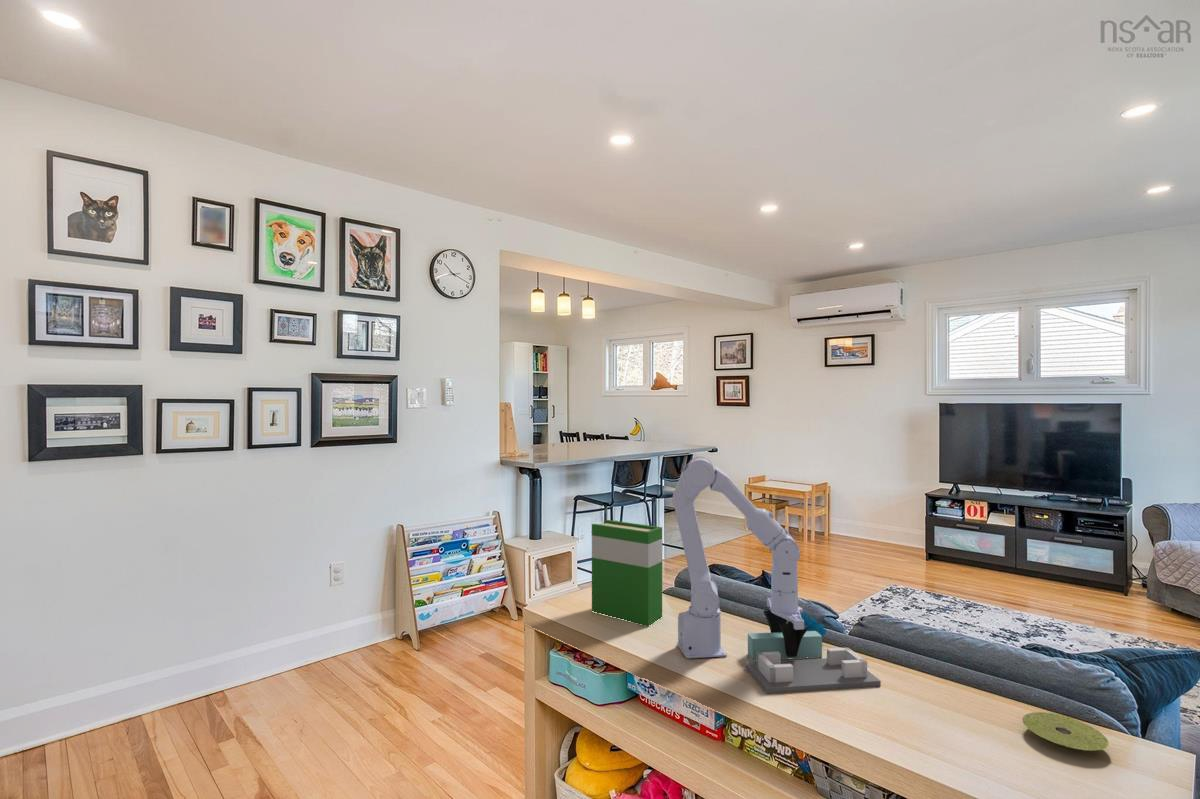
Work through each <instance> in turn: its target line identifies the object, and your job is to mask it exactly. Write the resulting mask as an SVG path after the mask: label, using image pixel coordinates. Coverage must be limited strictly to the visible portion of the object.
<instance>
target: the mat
mask: <svg viewBox="0 0 1200 799" xmlns="http://www.w3.org/2000/svg"><path fill="white" fill-rule="evenodd" d="M1021 721H1022V723H1023V724H1024V726H1025V727H1026V728H1027V729H1028V730H1030V731H1031V733H1034V734H1036V735H1037V736H1039V737H1040V738H1043V739H1046V740H1047V741H1049V742H1052V743H1054V744H1057V745H1060V746H1064V747H1066V748H1071V749H1075V750H1082V751H1101V750H1104V749H1105V750H1106V749H1107V748H1108V746H1109V740H1108V739H1107V737H1106V735H1103V733H1102V732H1100V731H1099V730H1098V729H1096V728H1095V727H1093V726H1091V725H1089V724H1087V723H1084V722H1083V721H1080V720H1077V719H1075V718H1072V717H1068V716H1065V715H1061V714H1057V713H1050V712H1043V711H1035V712H1029V713H1026V714H1024V715H1023V716H1022V720H1021Z"/></svg>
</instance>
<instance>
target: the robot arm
mask: <svg viewBox="0 0 1200 799" xmlns="http://www.w3.org/2000/svg"><path fill="white" fill-rule="evenodd" d="M714 467H715V468H714ZM708 487H709V488H710V490H711V491H713V492H718V493H721V494H723V496H725V497H726V498H727V499H728V501H730V502H731V504H732V505H733V506H735V507H736V509H737V510H738V511H739V512H740V513H742V515H744V516H745V526H746V528H748V529H749V530H750V532H751V533H752V534H753V535H754V536H755V537H756V538H757V539H758V540H759V541H760V542H761V544H762V545H764V547H765V548H769V551H770V552H771V553H772V556H771V558H772V560H771V564H772V565H771V568H770V569H771V572H770V576H771V580H770V582H771V584H770V585H771V591H770V593H771V596H770V597H767V598H766V606H767V607H768V608H769V609H768V610H767V609H765V610H763V615H764V616H765V619H766V620H767V624H768V626H769V630H770V633H774V632H782V633H783V637H784V642H785V651H786V655H787V657H797V653H798V650H799V646H800V643H801V640H802V638H803V636H804V634H805V633H806V631H807V627H806V626H805V625H804V620H803V619H802V618H801V615H800V614H801V613H802V612H804V609H803V608H802V607H801V606H799V570H798V561H799V560H800V558H801V554H802V553H801V551H800V547H799V545H798V543H797V542H796V541H795V539H794V537H792V535H791V534H790V532H789V530H788V529H787V528H786V527H785V528H783V527H782V525H780V524H779V523H778V521H777V520H776V519H775V518H774V517H775V515H774V513H773V512H772V511H771V510H769V511H768V510H766V508H758V507H756V506H755V505H754V503H752V502H751V501H750V500H749V498H748V497H747V496H746V494H744V493H743V492H742V490H741V489H740V488H739V487H738V486H737V485H736V484H735V482H734V481H733V480H732V479H731V478H730V477H729V476H728V475H727V474H726V473H725V472H723V471H722V470H721V469H720V468H719V467H718V466H716V465H714V466H713V463H712V462H711V461H710V460H709V459H708V458H706V457H705V456H696V457H693V458H691V459H690V460H689V461H688V463H687V464H686V465H685V466H684V467H683V468H682V471H681V474H680V476H679V479H678V482H677V483H676V485H675V488H674V491H673V493H672V502H673V507H674V511H675V516H676V520H677V525H678V528H679V534H680V537H681V542H682V546H683V551H684V556H685V560H686V564H687V570H688V574H689V578H690V592H691V594H690V595H691V596H690V605H689V607H688V609H687V610H686V611H681V612H679V613H678V618H677V638H678V639H677V644H676V645H677V646H678V647H679V649H680V651H681V653H683V656H684V657H685V658H686V659H701V658H715V657H716V658H718V657H719V658H720V657H721V658H722V657H727V656H728V654H727V652H726V651H725V649H724V648H723V647H722V645H721V643H722V642H721V638H722V637H721V634H722V633H721V630H722V629H721V628H722V627H721V626H722V624H721V621H722V619H721V617H722V616H721V613H722V611H721V609H720V597H719V591H718V590H719V589H718V585H717V583H716V582H715V580H713V578H712V576H711V572H710V571H711V570H710V568H709V565H708V561H707V555H706V553H705V552H706V551H705V546H704V542H703V539H702V533H701V530H700V526H699V519H698V517H697V512H696V509H695V508H696V507H695V504H694V503H695V501H696V499H697V498H698V496H699V495H700V493H701V492H702V491H704V490H705V489H707V488H708ZM787 621H788V624H786V622H787Z"/></svg>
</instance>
